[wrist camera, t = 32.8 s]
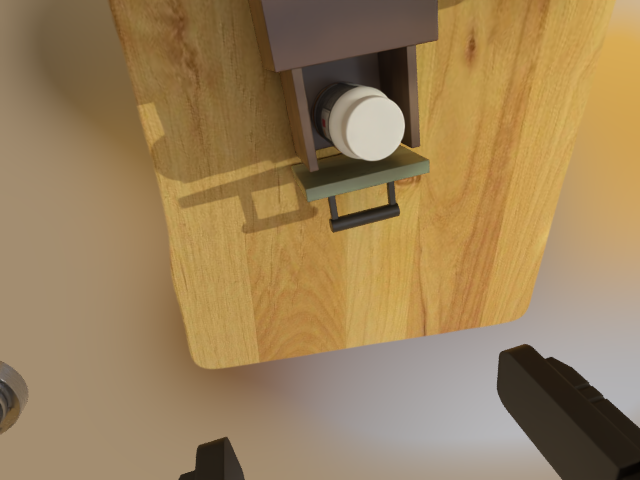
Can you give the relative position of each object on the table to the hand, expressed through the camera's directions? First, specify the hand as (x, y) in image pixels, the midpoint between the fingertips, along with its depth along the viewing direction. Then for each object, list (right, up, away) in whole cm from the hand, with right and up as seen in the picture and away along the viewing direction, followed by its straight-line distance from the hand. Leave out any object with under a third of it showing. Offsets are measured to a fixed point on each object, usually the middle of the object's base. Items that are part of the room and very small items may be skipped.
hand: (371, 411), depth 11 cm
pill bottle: (0, +17, +26) cm, 31 cm away
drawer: (0, +17, +27) cm, 32 cm away
